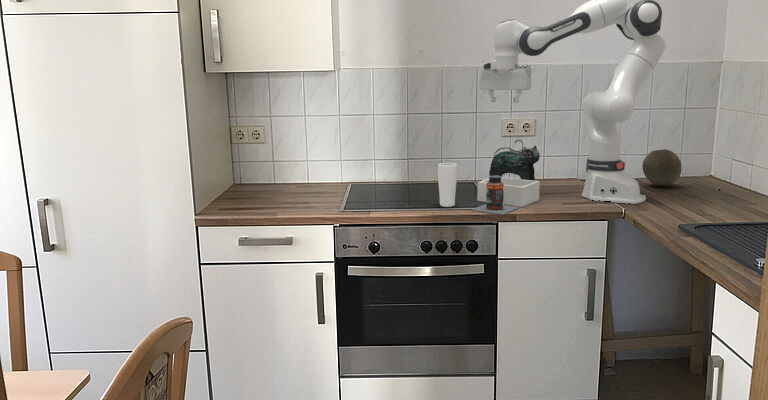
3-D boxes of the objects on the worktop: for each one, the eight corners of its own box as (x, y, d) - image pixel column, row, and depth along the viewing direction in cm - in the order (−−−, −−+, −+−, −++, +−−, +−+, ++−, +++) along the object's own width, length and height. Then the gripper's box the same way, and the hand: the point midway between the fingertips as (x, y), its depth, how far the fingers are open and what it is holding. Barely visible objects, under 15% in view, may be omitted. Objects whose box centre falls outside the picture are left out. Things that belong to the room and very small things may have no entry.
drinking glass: (455, 208, 217) (456, 165, 214) (436, 207, 219) (436, 165, 216) (457, 203, 224) (457, 162, 221) (438, 203, 225) (439, 162, 222)
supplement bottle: (506, 208, 215) (507, 175, 212) (497, 211, 210) (498, 178, 208) (492, 205, 219) (492, 174, 216) (482, 208, 214) (483, 176, 212)
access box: (538, 199, 229) (539, 181, 227) (522, 206, 218) (523, 187, 216) (495, 194, 239) (495, 176, 238) (477, 200, 228) (477, 182, 227)
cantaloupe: (650, 182, 259) (653, 146, 256) (685, 186, 249) (688, 149, 246) (635, 186, 250) (637, 149, 247) (670, 191, 240) (673, 153, 236)
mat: (518, 208, 215) (518, 207, 215) (503, 215, 206) (503, 214, 206) (488, 204, 222) (488, 203, 222) (471, 210, 213) (471, 209, 213)
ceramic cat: (539, 190, 246) (541, 140, 241) (532, 193, 240) (534, 142, 236) (493, 185, 257) (494, 137, 253) (486, 188, 252) (487, 139, 248)
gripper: (535, 64, 228) (533, 102, 230) (485, 65, 240) (484, 101, 243) (527, 64, 223) (526, 103, 226) (477, 65, 235) (477, 102, 238)
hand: (504, 102), depth 234 cm, fingers open, 8 cm apart
